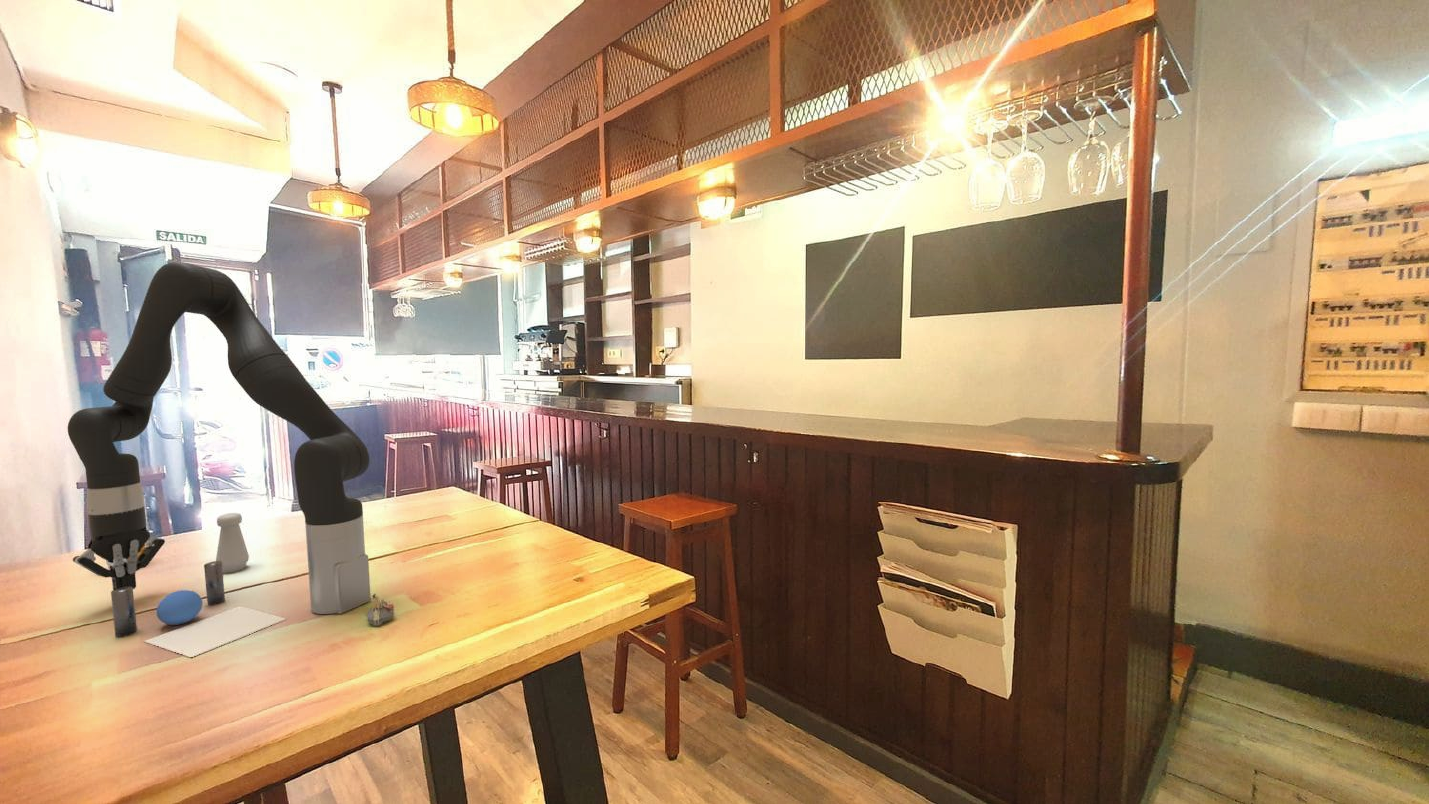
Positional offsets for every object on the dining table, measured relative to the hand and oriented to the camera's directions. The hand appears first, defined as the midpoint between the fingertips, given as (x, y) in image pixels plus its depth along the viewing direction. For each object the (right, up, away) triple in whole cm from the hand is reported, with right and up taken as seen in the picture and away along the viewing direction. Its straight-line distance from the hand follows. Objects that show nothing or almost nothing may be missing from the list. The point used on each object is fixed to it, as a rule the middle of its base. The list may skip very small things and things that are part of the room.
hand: (125, 593), depth 109 cm
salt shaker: (+7, -1, +17) cm, 18 cm away
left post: (+13, -3, -12) cm, 18 cm away
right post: (+18, -2, 0) cm, 18 cm away
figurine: (+56, -3, -8) cm, 56 cm away
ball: (+19, 0, -9) cm, 21 cm away
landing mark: (+29, -3, -11) cm, 31 cm away
